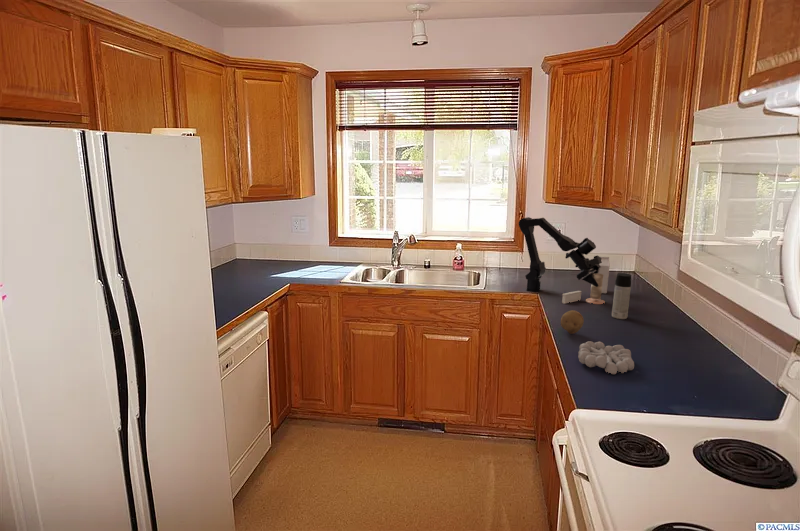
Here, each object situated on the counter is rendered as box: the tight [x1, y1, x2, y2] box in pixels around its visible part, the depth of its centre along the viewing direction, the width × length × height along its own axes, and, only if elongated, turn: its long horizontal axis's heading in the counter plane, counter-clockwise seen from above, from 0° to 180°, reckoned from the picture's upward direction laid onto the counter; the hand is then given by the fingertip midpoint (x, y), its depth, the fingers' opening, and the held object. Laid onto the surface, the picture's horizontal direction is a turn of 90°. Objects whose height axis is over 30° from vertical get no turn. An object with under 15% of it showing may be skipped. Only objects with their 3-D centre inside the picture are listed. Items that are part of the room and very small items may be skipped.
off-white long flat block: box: [561, 290, 583, 305], centre depth 266 cm, size 12×2×5 cm, turn 124°
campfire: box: [577, 340, 635, 375], centre depth 190 cm, size 22×21×6 cm
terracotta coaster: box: [585, 297, 606, 305], centre depth 267 cm, size 9×9×1 cm
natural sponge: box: [560, 309, 585, 335], centre depth 218 cm, size 9×9×10 cm
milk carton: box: [590, 256, 610, 294], centre depth 285 cm, size 7×7×19 cm
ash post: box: [589, 273, 603, 300], centre depth 265 cm, size 5×5×12 cm
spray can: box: [611, 272, 632, 320], centre depth 241 cm, size 7×7×20 cm
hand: (599, 285), depth 264 cm, fingers closed on ash post, 5 cm apart
